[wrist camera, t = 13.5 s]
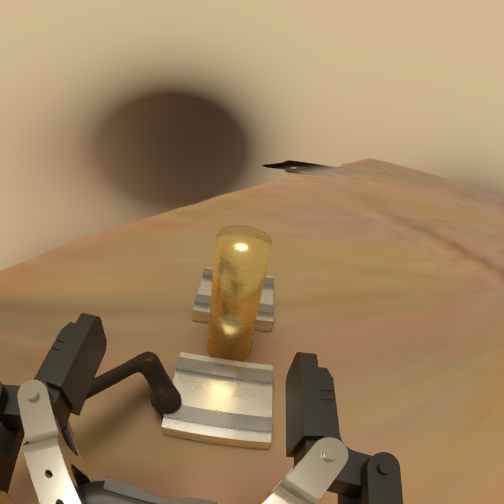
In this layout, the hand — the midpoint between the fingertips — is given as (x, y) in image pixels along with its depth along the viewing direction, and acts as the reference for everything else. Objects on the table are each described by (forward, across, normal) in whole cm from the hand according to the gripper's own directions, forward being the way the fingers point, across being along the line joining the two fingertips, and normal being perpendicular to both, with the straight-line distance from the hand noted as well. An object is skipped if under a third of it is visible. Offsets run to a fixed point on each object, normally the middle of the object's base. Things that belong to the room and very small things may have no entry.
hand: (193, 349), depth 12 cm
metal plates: (+11, -2, +14) cm, 18 cm away
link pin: (+11, -2, +14) cm, 18 cm away
